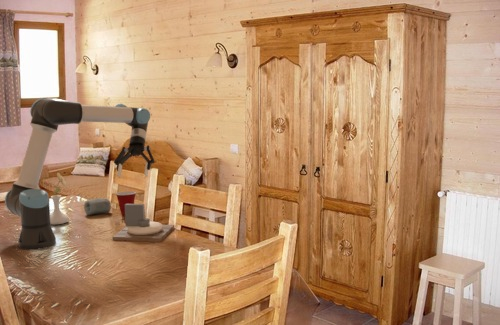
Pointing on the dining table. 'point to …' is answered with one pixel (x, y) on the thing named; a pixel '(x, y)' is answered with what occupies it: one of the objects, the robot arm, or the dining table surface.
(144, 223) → the dial
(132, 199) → the plastic cup
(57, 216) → the flower in vase
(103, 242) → the dining table surface
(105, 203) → the rolled towel
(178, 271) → the dining table surface
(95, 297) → the dining table surface
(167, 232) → the dial plate
